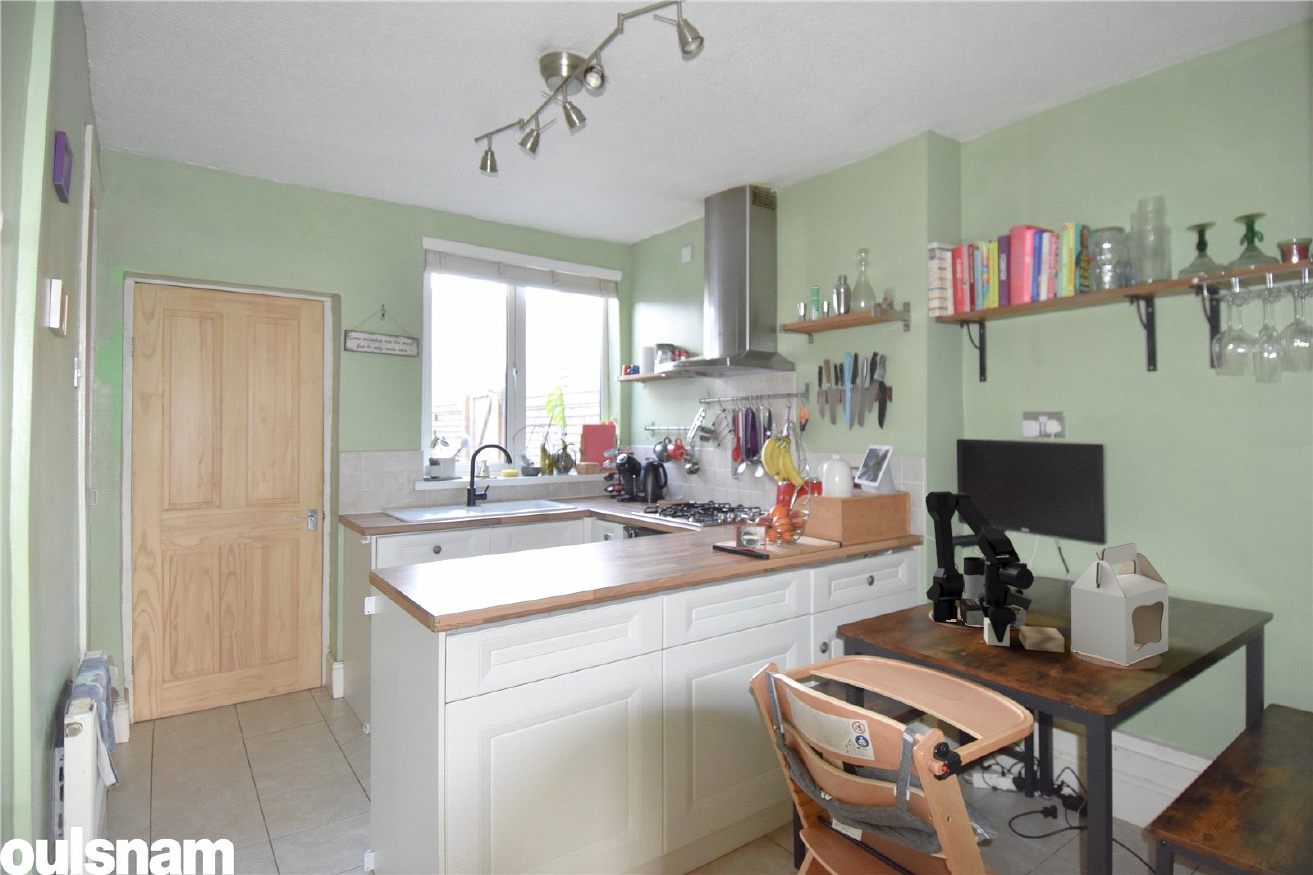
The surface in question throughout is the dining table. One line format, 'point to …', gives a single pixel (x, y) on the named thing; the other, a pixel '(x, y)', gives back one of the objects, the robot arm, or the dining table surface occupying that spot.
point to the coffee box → (975, 616)
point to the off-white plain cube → (991, 637)
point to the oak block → (1041, 638)
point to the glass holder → (973, 577)
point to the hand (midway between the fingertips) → (996, 637)
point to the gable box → (1120, 607)
